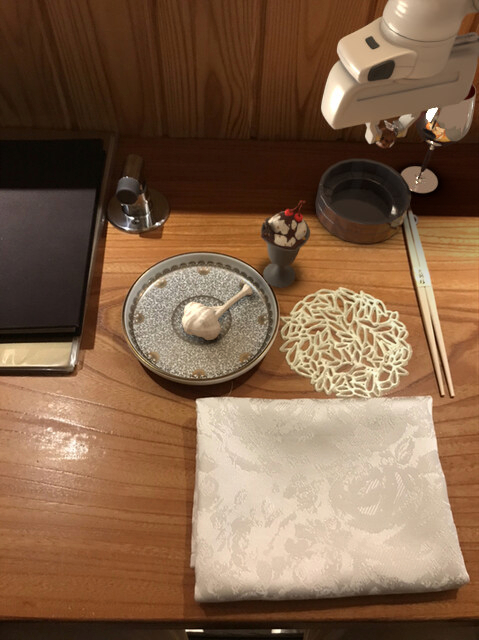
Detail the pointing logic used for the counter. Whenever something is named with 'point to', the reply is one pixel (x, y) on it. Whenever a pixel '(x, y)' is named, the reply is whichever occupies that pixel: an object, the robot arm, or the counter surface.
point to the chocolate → (387, 136)
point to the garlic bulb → (208, 316)
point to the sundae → (283, 245)
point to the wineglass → (439, 137)
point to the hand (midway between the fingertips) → (384, 137)
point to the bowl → (362, 200)
